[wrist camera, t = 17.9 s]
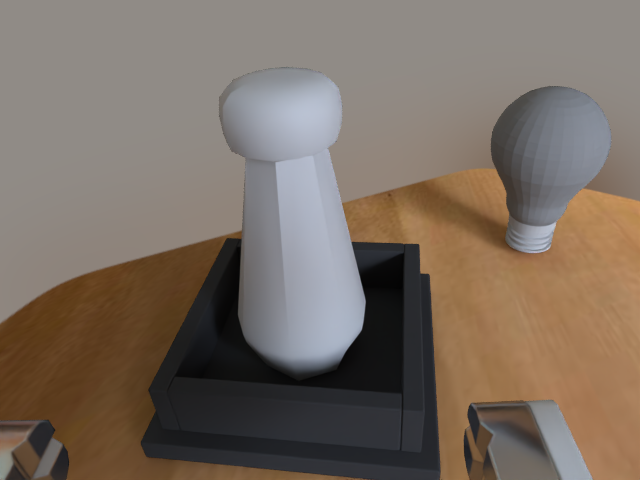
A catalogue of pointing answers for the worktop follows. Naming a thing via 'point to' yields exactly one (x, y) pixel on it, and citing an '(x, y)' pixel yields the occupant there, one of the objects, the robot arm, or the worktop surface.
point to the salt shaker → (292, 221)
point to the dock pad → (306, 383)
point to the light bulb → (546, 159)
